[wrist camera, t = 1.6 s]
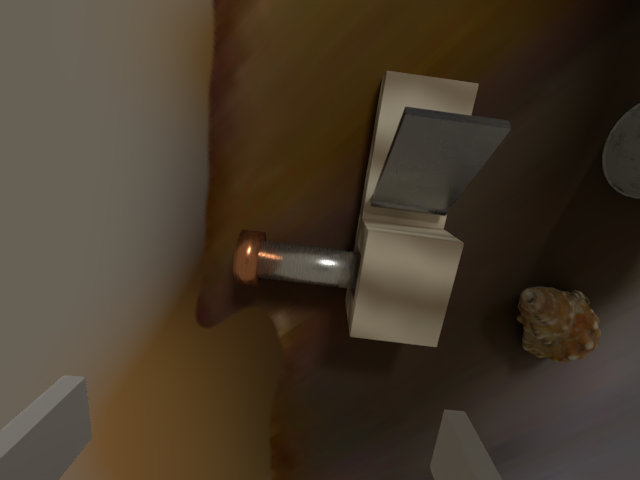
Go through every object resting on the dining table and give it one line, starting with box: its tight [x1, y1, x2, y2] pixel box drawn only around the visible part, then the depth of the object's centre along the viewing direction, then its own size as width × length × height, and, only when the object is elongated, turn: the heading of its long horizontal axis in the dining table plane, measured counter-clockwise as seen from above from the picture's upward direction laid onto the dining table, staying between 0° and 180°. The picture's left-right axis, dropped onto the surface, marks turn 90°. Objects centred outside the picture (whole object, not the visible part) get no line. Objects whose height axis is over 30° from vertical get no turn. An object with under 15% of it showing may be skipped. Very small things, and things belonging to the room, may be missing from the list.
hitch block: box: [345, 71, 479, 347], centre depth 29 cm, size 23×8×7 cm, turn 173°
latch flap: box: [370, 107, 511, 216], centre depth 26 cm, size 11×7×1 cm
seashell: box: [517, 286, 601, 362], centre depth 33 cm, size 9×8×10 cm
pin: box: [233, 230, 361, 290], centre depth 31 cm, size 5×14×5 cm, turn 83°
